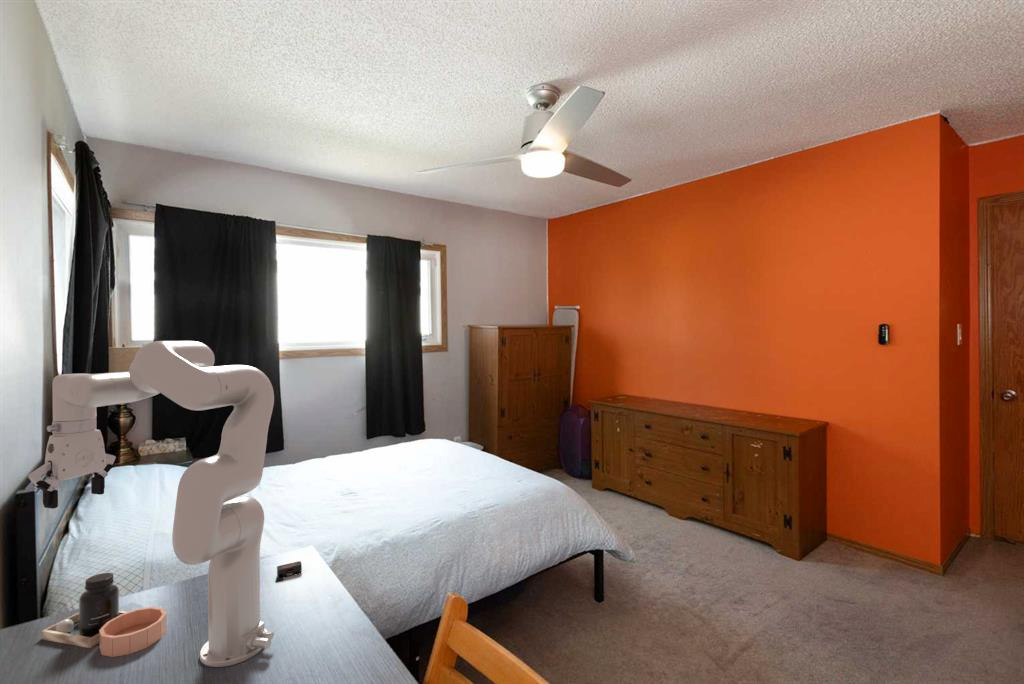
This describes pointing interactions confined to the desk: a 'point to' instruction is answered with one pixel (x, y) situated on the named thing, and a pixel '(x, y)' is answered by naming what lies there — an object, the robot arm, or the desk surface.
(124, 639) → the bowl
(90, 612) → the supplement bottle
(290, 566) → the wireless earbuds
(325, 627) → the desk surface
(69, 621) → the pebble
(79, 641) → the tray
